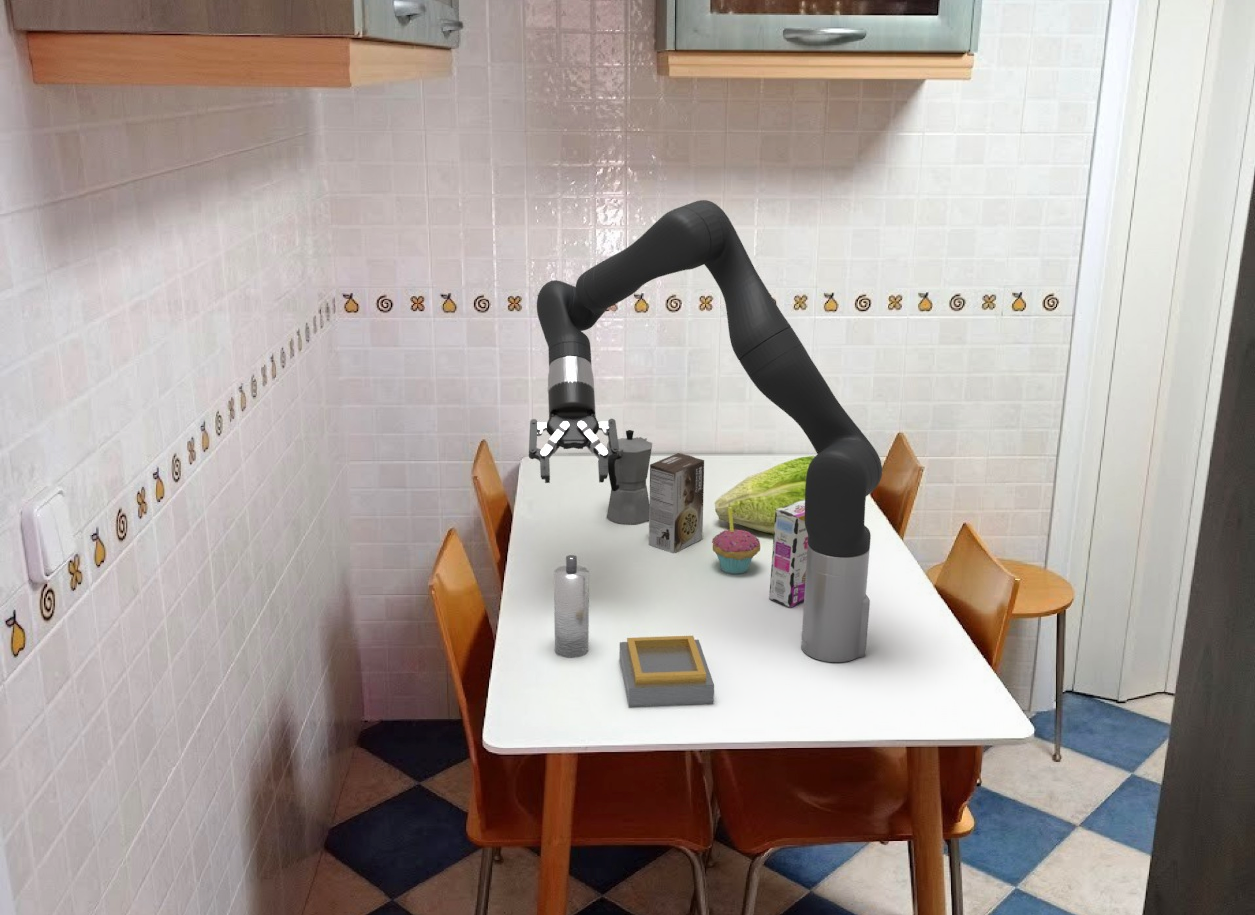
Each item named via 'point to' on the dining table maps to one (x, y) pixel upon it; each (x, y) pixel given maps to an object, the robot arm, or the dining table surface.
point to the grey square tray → (665, 671)
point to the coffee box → (676, 502)
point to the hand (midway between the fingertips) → (574, 480)
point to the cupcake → (735, 548)
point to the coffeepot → (629, 481)
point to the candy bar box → (789, 555)
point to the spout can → (571, 609)
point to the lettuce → (765, 495)
